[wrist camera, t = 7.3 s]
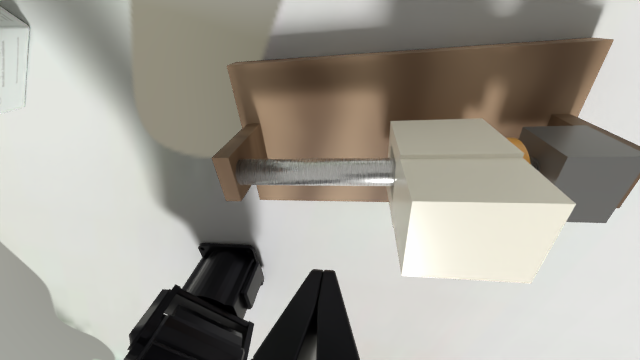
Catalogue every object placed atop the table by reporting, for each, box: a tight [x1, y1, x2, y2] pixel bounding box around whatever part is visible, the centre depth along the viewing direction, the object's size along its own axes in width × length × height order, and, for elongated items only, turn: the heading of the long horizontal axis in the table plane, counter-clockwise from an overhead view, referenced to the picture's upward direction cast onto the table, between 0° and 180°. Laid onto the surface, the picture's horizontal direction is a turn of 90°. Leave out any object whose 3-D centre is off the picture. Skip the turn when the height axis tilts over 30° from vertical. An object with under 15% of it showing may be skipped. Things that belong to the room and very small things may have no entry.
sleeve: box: [387, 118, 576, 284], centre depth 13 cm, size 5×4×8 cm
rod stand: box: [212, 38, 640, 223], centre depth 16 cm, size 22×11×8 cm, turn 94°
